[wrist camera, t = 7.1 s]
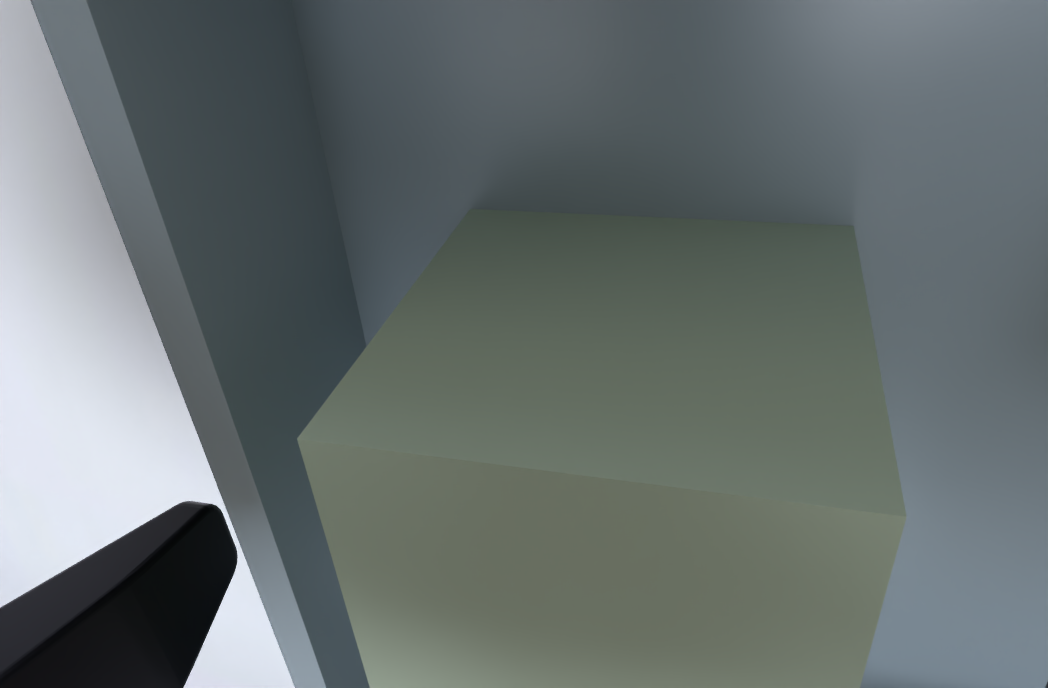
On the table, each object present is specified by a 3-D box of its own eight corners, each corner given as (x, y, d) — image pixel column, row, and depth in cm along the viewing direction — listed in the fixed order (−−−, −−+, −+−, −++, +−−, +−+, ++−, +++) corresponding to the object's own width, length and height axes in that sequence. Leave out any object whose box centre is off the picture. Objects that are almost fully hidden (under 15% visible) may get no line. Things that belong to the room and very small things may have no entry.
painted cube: (853, 225, 10) (906, 517, 6) (803, 515, 13) (816, 847, 9) (470, 209, 11) (297, 438, 7) (500, 475, 14) (387, 750, 10)
